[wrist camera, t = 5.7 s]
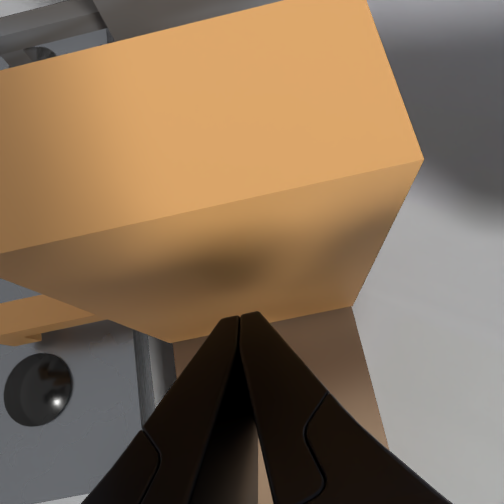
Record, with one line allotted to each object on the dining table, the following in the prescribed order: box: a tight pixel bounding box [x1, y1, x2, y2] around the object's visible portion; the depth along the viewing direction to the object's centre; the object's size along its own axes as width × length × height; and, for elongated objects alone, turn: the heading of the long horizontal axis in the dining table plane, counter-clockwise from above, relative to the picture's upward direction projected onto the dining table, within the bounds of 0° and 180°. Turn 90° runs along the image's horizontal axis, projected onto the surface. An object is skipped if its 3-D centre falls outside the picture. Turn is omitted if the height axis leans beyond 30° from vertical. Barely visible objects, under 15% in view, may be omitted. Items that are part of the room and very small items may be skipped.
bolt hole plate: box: [0, 28, 155, 504], centre depth 18 cm, size 20×7×2 cm, turn 10°
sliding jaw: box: [0, 0, 424, 346], centre depth 10 cm, size 3×12×9 cm, turn 101°
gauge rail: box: [0, 0, 389, 504], centre depth 12 cm, size 21×12×12 cm, turn 10°
